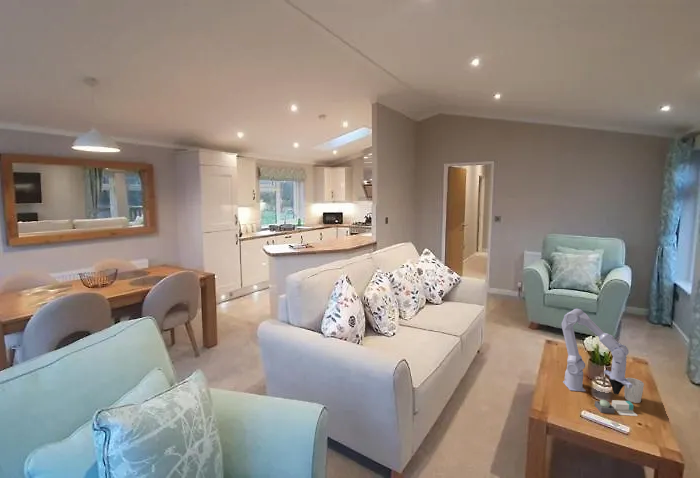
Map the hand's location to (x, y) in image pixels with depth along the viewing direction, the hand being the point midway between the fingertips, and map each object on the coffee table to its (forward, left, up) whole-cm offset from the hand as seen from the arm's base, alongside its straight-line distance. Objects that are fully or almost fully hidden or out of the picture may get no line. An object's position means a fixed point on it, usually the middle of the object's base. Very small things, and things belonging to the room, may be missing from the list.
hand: (616, 393), depth 185 cm
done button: (+7, -9, -5) cm, 12 cm away
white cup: (-4, +10, -5) cm, 12 cm away
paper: (+7, 0, -5) cm, 9 cm away
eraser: (+6, 0, -5) cm, 7 cm away
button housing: (+7, -9, -5) cm, 12 cm away
